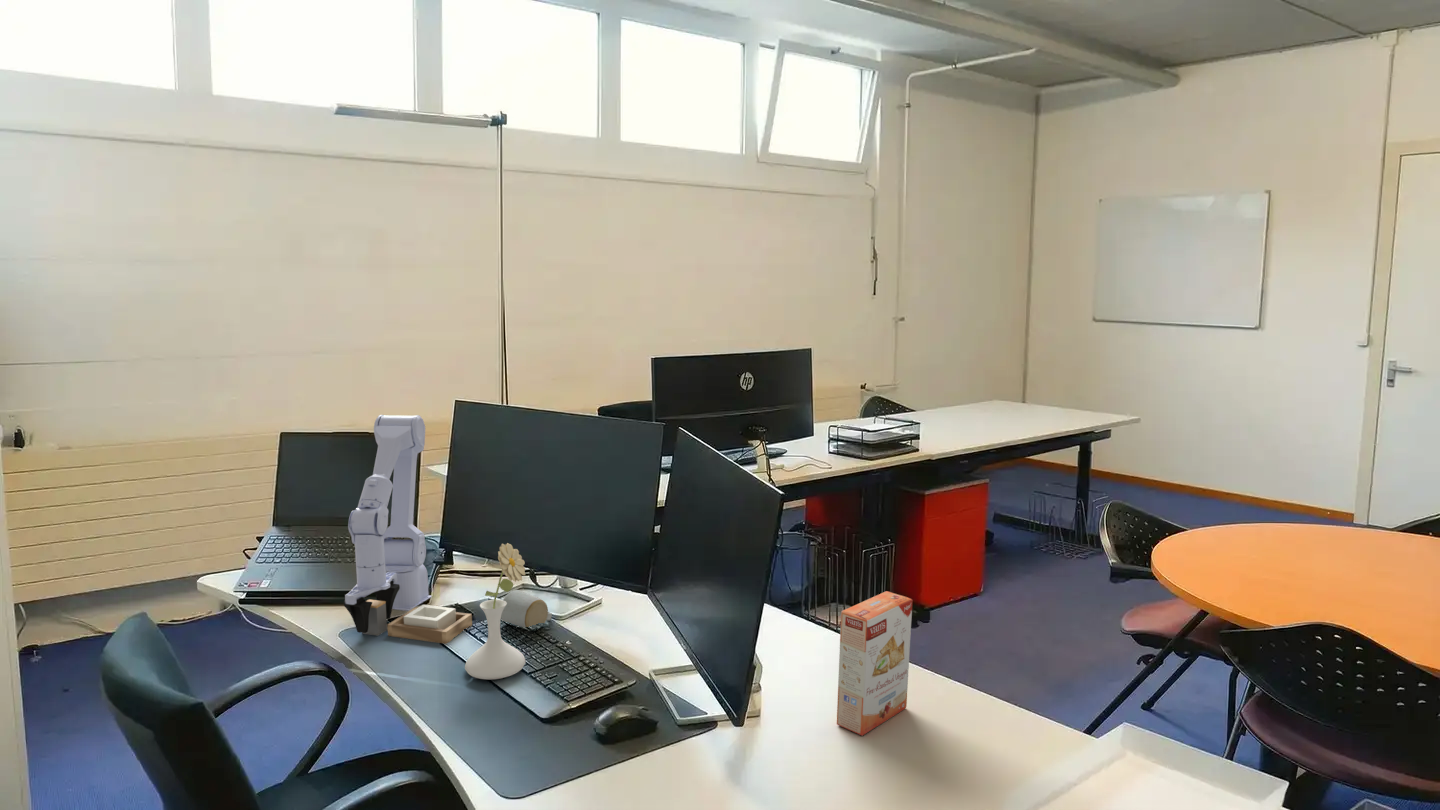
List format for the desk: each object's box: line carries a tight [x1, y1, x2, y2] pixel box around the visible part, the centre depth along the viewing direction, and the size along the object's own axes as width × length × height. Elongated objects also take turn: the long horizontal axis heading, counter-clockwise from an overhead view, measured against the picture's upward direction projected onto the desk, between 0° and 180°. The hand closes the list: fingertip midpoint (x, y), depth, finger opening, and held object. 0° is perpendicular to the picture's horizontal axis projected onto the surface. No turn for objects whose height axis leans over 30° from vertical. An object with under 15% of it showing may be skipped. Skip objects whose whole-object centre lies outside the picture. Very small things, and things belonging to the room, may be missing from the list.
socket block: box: [404, 604, 457, 630], centre depth 191 cm, size 7×8×4 cm
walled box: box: [387, 606, 473, 645], centre depth 191 cm, size 10×14×3 cm
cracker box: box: [836, 590, 914, 736], centre depth 155 cm, size 14×6×21 cm, turn 136°
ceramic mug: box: [501, 589, 553, 627], centre depth 195 cm, size 11×8×8 cm
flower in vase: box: [464, 542, 526, 680], centre depth 172 cm, size 13×11×25 cm
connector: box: [362, 598, 388, 637], centre depth 190 cm, size 3×4×7 cm
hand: (374, 624), depth 190 cm, fingers open, 7 cm apart
